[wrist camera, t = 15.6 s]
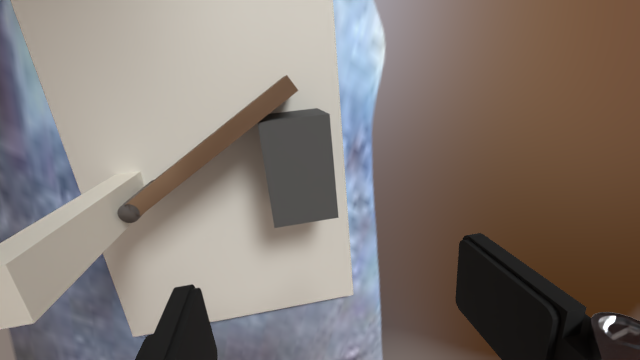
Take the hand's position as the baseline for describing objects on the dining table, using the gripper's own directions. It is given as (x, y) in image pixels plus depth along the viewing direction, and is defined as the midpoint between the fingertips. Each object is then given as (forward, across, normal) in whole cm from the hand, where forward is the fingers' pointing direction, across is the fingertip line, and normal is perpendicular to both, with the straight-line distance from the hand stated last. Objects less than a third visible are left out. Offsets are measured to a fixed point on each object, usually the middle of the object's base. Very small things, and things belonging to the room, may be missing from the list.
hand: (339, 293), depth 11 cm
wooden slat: (+18, +6, -3) cm, 19 cm away
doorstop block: (+18, 0, -1) cm, 18 cm away
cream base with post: (+19, +7, 0) cm, 20 cm away
